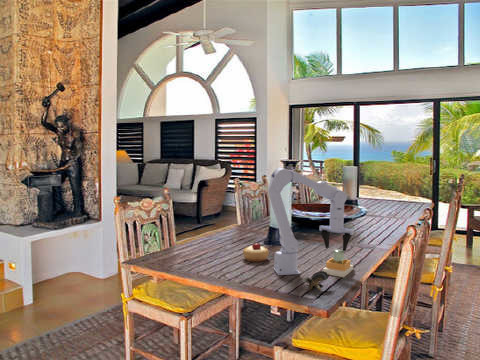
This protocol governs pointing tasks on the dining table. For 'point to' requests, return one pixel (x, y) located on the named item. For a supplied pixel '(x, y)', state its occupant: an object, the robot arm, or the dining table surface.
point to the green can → (338, 256)
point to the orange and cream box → (338, 268)
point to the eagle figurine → (316, 279)
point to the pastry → (255, 253)
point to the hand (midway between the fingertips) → (335, 249)
